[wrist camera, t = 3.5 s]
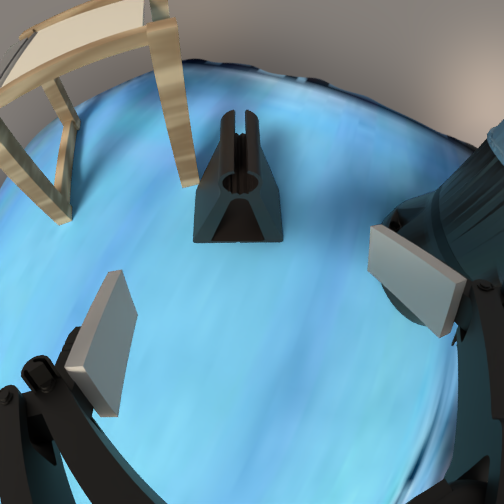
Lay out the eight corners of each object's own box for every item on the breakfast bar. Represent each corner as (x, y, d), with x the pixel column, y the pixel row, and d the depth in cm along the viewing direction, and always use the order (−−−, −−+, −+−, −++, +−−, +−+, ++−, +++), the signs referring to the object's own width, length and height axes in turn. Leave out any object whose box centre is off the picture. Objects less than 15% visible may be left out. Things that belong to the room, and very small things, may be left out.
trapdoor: (145, 61, 17) (141, 32, 14) (-17, 126, 14) (-30, 106, 11) (145, 13, 21) (143, -7, 18) (21, 57, 18) (15, 40, 15)
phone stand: (278, 192, 31) (299, 112, 20) (282, 242, 29) (310, 173, 18) (196, 192, 31) (181, 110, 19) (193, 243, 28) (170, 172, 17)
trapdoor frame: (199, 183, 31) (177, 26, 13) (58, 225, 28) (-38, 123, 10) (179, 91, 37) (165, -21, 19) (69, 125, 34) (23, 31, 16)
